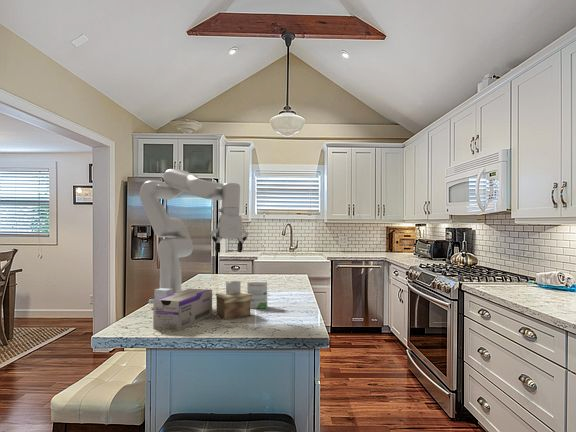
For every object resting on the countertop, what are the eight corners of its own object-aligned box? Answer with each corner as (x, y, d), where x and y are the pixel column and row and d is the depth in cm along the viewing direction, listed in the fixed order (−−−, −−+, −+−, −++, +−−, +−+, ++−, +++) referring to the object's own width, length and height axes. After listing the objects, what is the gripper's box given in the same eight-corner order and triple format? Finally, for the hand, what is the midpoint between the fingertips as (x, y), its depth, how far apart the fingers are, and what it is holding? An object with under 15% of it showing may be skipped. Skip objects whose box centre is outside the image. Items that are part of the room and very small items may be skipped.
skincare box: (173, 318, 154) (173, 288, 154) (166, 321, 150) (166, 290, 150) (160, 317, 156) (160, 287, 156) (153, 319, 152) (153, 289, 152)
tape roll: (229, 295, 155) (229, 282, 155) (223, 293, 160) (223, 281, 161) (242, 294, 158) (242, 281, 158) (237, 292, 163) (237, 280, 164)
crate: (225, 319, 152) (225, 299, 152) (216, 314, 161) (216, 295, 161) (250, 316, 158) (250, 296, 158) (240, 311, 166) (240, 293, 166)
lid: (224, 303, 151) (224, 297, 151) (215, 299, 161) (215, 293, 161) (252, 300, 157) (252, 294, 157) (241, 296, 166) (241, 291, 167)
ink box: (267, 306, 177) (267, 280, 177) (265, 308, 172) (265, 282, 172) (249, 306, 178) (249, 280, 178) (247, 308, 173) (247, 282, 173)
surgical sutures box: (179, 331, 136) (179, 301, 136) (153, 329, 139) (153, 299, 139) (212, 315, 160) (212, 289, 160) (189, 313, 163) (189, 288, 163)
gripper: (213, 211, 155) (212, 253, 155) (252, 212, 164) (251, 252, 164) (208, 211, 162) (206, 251, 162) (245, 212, 171) (244, 251, 170)
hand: (228, 252), depth 163 cm, fingers open, 9 cm apart
